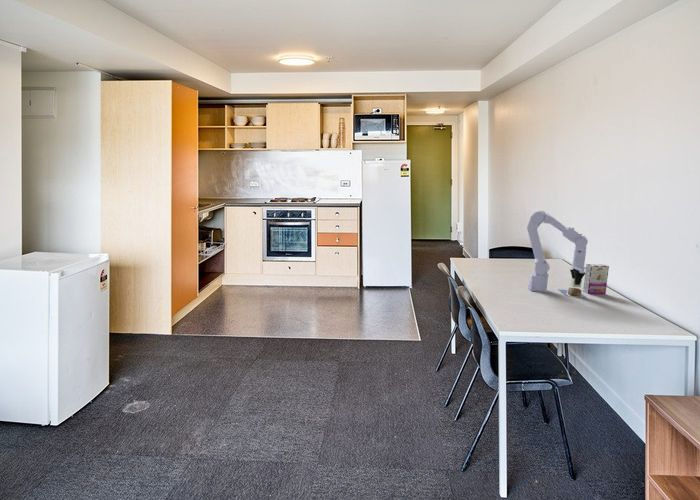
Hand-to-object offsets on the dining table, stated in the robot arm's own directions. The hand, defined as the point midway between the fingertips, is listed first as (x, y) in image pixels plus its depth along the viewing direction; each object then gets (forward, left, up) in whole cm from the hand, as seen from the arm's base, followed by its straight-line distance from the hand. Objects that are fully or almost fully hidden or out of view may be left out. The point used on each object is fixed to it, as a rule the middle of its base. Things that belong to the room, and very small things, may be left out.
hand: (575, 283), depth 272 cm
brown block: (0, 0, -6) cm, 6 cm away
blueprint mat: (0, +4, -7) cm, 8 cm away
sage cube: (0, 0, -2) cm, 2 cm away
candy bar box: (+13, +10, -7) cm, 18 cm away
